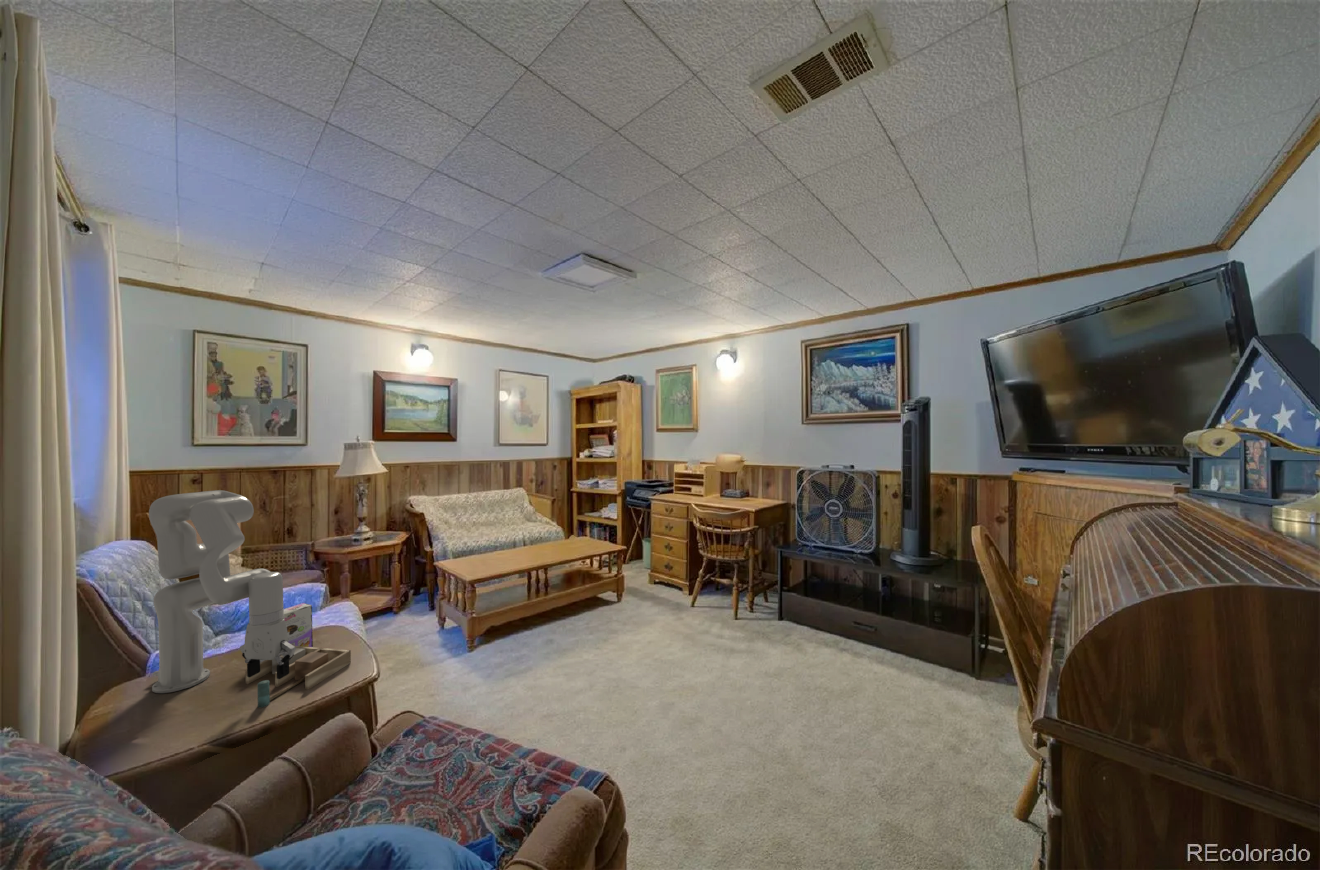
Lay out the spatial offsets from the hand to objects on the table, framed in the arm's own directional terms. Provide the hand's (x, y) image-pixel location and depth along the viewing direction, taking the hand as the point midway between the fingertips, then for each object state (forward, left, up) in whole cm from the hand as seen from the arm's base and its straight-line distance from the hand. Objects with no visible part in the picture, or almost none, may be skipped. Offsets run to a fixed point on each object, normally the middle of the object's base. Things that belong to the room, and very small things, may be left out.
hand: (268, 675), depth 131 cm
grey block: (-11, +17, -8) cm, 22 cm away
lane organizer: (-6, +16, -9) cm, 19 cm away
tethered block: (-1, +8, -9) cm, 12 cm away
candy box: (-22, +26, -9) cm, 35 cm away
